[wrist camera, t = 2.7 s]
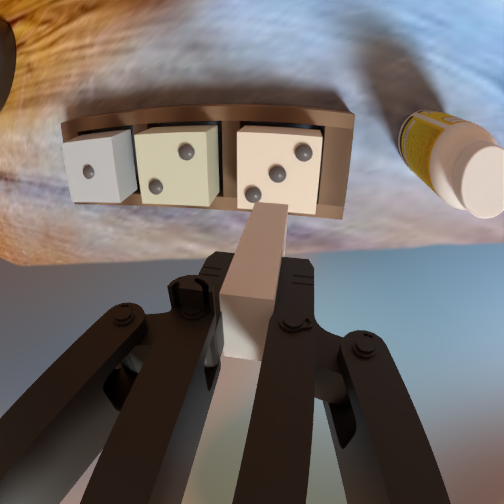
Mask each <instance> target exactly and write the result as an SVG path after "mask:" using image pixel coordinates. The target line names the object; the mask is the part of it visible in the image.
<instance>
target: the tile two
mask: <svg viewBox="0 0 504 504" xmlns="http://www.w3.org/2000/svg"><path fill="white" fill-rule="evenodd" d="M134 138H135V148H136V158H137V167H138V175H139V183H140V190H141V197H142V204H167V205H189V206H207V207H209V206H210V205H211V203H212V202H213V200H214V199H215V197H216V196H217V194H218V193H219V162H218V125H193V126H168V127H152V128H150V129H147V130H145V131H142V132H140V133H138V134H135V135H134Z"/></svg>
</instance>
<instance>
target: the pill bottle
mask: <svg viewBox="0 0 504 504" xmlns="http://www.w3.org/2000/svg"><path fill="white" fill-rule="evenodd" d="M398 147H399V151H400V155H401V157H402V159H403V161H404V162H405V164H406V165H407V166H408V167H409V168H410V170H411V171H413V172H414V173H415V174H416V175H417V176H418V177H419V178H420V179H421V180H422V181H423V182H425V183H426V184H427V185H428V186H429V187H430V188H431V189H432V190H433V191H434V192H435V193H436V194H437V195H438V196H439V197H440V198H441V199H442V200H443V201H444V202H446V203H447V204H448V205H450V206H452V207H454V208H457V209H462V210H468V211H469V212H470V213H471V214H473V215H474V216H476V217H478V218H485V219H486V218H492V217H494V216H496V215H498V214H500V213H501V212H502V211H504V149H503V148H502V147H500V146H498V144H497V143H496V141H495V139H494V138H493V137H492V135H491V134H490V133H489V132H488V131H487V130H485V129H484V128H482V127H481V126H479V125H477V124H474V123H472V122H469V121H466V120H463V119H460V118H457V117H454V116H452V115H449V114H445V113H442V112H438V111H435V110H428V109H426V110H419V111H416V112H414V113H413V114H411V115H410V116H409V117H408V118H407V119H406V120H405V121H404V122H403V124H402V126H401V128H400V131H399V136H398Z"/></svg>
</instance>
